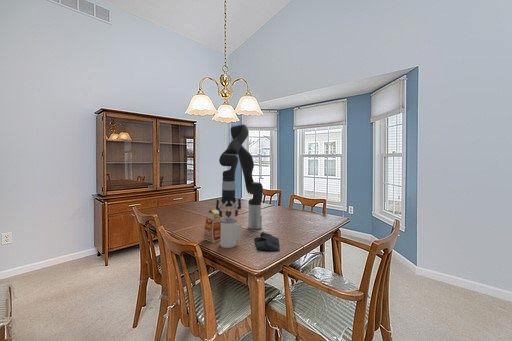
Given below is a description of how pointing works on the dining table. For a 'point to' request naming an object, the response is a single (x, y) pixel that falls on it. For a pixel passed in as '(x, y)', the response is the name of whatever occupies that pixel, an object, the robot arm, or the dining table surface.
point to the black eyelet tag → (267, 242)
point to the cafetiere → (229, 232)
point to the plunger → (228, 213)
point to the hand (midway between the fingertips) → (228, 216)
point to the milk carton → (212, 226)
